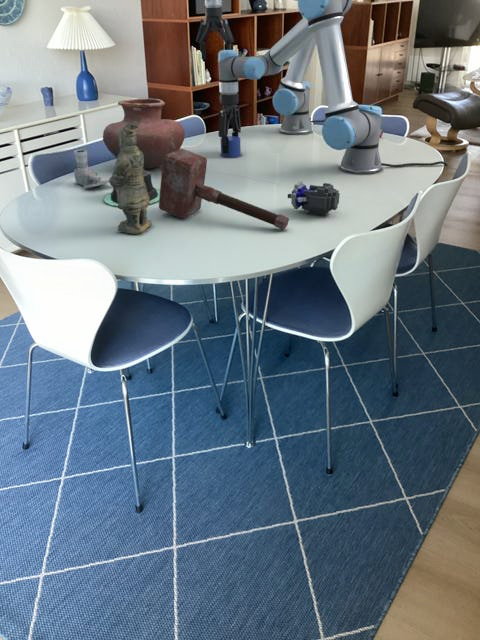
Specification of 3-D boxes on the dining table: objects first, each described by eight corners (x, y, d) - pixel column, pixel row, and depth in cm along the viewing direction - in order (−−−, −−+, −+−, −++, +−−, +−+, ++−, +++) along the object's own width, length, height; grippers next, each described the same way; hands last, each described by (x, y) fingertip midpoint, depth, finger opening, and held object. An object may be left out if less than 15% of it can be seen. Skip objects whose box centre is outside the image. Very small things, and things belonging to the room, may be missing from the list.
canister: (217, 156, 233) (216, 139, 229) (228, 152, 239) (227, 135, 235) (233, 158, 229) (233, 141, 225) (244, 154, 235) (244, 137, 231)
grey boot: (85, 147, 201) (110, 154, 192) (90, 179, 207) (114, 187, 198) (64, 151, 195) (89, 159, 186) (70, 184, 201) (94, 193, 193)
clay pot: (194, 158, 230) (190, 94, 217) (174, 179, 204) (168, 107, 192) (124, 156, 235) (116, 93, 222) (96, 176, 209) (85, 106, 197)
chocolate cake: (91, 202, 180) (113, 186, 197) (142, 231, 182) (160, 212, 199) (107, 162, 172) (129, 148, 190) (160, 192, 174) (177, 176, 192)
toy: (295, 178, 172) (342, 184, 166) (295, 205, 177) (340, 211, 171) (285, 186, 166) (333, 192, 160) (284, 213, 170) (331, 220, 164)
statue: (131, 220, 168) (117, 116, 152) (158, 224, 164) (147, 118, 149) (109, 233, 159) (93, 124, 144) (138, 237, 156) (124, 126, 140)
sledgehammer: (299, 190, 156) (179, 147, 167) (285, 200, 148) (161, 154, 160) (286, 244, 166) (174, 200, 177) (272, 256, 158) (156, 209, 170)
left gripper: (186, 7, 249) (189, 59, 260) (231, 6, 236) (232, 61, 247) (197, 6, 254) (199, 57, 265) (241, 6, 242) (242, 59, 252)
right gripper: (232, 88, 231) (234, 144, 242) (207, 96, 215) (210, 155, 226) (248, 89, 228) (249, 145, 240) (225, 97, 212) (227, 157, 223)
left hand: (215, 59), depth 256 cm, fingers open, 13 cm apart
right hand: (230, 150), depth 233 cm, fingers closed on canister, 8 cm apart
